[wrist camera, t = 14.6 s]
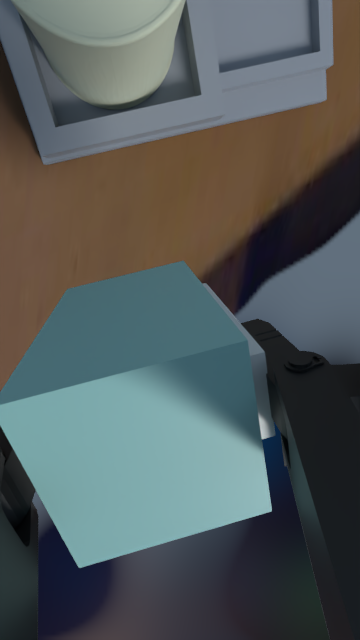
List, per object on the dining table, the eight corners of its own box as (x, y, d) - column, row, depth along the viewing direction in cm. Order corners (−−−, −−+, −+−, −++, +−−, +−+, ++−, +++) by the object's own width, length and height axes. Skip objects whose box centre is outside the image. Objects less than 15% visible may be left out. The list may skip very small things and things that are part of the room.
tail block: (103, 387, 15) (79, 567, 8) (67, 289, 13) (-10, 407, 6) (204, 360, 16) (271, 511, 8) (183, 260, 14) (247, 339, 6)
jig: (46, 164, 25) (36, 161, 23) (-37, -79, 20) (-64, -122, 17) (319, 102, 26) (341, 92, 24) (311, -144, 21) (338, -194, 18)
